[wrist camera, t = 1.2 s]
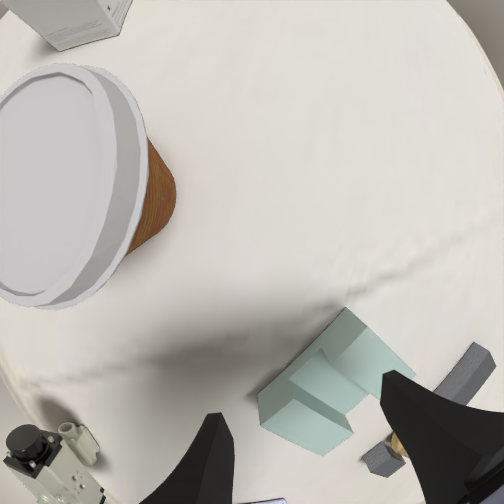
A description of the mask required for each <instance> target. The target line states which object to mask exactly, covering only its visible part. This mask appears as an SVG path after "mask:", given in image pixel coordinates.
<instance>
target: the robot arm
mask: <svg viewBox="0 0 504 504" xmlns="http://www.w3.org/2000/svg"><path fill="white" fill-rule="evenodd" d="M380 405H381V408H382V410H383V412H384V415H385V417H386V419H387V421H388V423H389V425H390V426H391V428H392V430H393V431H394V433H395V434H396V436H397V438H398V439H399V441H400V443H401V444H402V446H403V447H404V449H405V451H406V452H407V454H408V456H409V458H410V460H411V462H412V465H413V467H414V469H415V472H416V474H417V477H418V480H419V482H420V485H421V488H422V491H423V494H424V497H425V501H426V504H504V412H493V411H486V410H481V409H476V408H472V407H468V406H465V405H462V404H459V403H456V402H453V401H451V400H448V399H446V398H444V397H441V396H439V395H437V394H435V393H433V392H431V391H430V390H428V389H426V388H424V387H422V386H421V385H419V384H417V383H416V382H414V381H412V380H411V379H409V378H407V377H406V376H404V375H403V374H401V373H399V372H398V371H396V370H391V371H389V372H386V373H383V374H382V386H381V397H380ZM234 461H235V455H234V441H233V437H232V435H231V433H230V431H229V428H228V426H227V424H226V422H225V419H224V417H223V415H222V413H221V412H220V413H211V414H207V415H206V417H205V419H204V422H203V424H202V426H201V428H200V429H199V431H198V433H197V435H196V437H195V439H194V440H193V442H192V444H191V446H190V447H189V449H188V451H187V452H186V454H185V455H184V457H183V458H182V459H181V461H180V462H179V464H178V465H177V466H176V468H175V469H174V470H173V472H172V473H171V474H170V475H169V476H168V477H167V479H166V480H165V481H164V482H163V483H162V484H161V485H160V486H159V487H158V488H157V489H156V490H155V491H154V492H153V493H151V494H150V495H149V496H148V497H147V498H145V499H144V500H143V501H142V502H140V503H139V504H232V490H233V476H234ZM252 504H287V503H286V501H285V500H284V499H279V500H274V501H267V502H260V503H252Z"/></svg>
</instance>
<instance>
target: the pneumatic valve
mask: <svg viewBox="0 0 504 504" xmlns="http://www.w3.org/2000/svg"><path fill="white" fill-rule="evenodd" d="M58 433H59V434H57V433H52V432H48V431H44V430H40V429H39V428H38V427H36V426H35V425H31V424H27V425H22V426H19V427H17V428H16V429H14V430H13V431H12V432H11V433H10V434H9V435H8V437H7V439H6V445H7V447H8V449H9V450H10V451H8V452H7V457H6V458H5V459H4V460H3V462H4V463H5V464H6V465H7V466H8V468H9V469H10V470H11V471H12V472H13V473H14V475H15V476H16V477H17V478H18V479H19V480H20V481H21V482H22V483H23V484H24V485H25V486H26V488H27V489H28V490H30V492H31V493H32V494H33V495H34V496H35V497H36V498H37V499H38V500H37V503H38V504H103V503H104V501H105V499H106V497H105V496H104V495H103V492H104V489H103V488H102V487H101V485H100V484H99V483H98V482H97V481H96V480H95V479H94V478H93V477H92V475H91V474H90V473H89V472H88V471H87V470H86V467H85V466H91V465H93V464H94V463H95V462H96V460H97V458H96V455H95V454H96V452H99V449H100V447H99V446H98V444H97V443H96V442H95V440H94V439H93V437H92V436H91V434H90V433H89V431H88V430H87V428H86V427H84V426H82V425H80V427H76V426H75V424H74V423H71V422H66V423H63V424H62V425H60V426H59V428H58ZM83 465H85V466H83Z"/></svg>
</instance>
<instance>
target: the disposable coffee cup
mask: <svg viewBox="0 0 504 504" xmlns="http://www.w3.org/2000/svg"><path fill="white" fill-rule="evenodd" d="M175 203H176V187H175V182H174V178H173V176H172V174H171V172H170V170H169V169H168V168H167V166H166V165H165V163H164V162H163V160H162V159H161V157H160V156H159V154H158V152H157V151H156V149H155V148H154V147H153V145H152V143H151V142H150V140H149V139H148V137H147V134H146V129H145V125H144V120H143V117H142V114H141V112H140V109H139V107H138V104H137V102H136V99H135V98H134V96H133V95H132V94H131V92H130V91H129V89H128V88H127V87H126V85H125V84H124V83H122V82H121V81H120V80H119V79H118V78H117V77H116V76H114V75H113V74H111V73H109V72H108V71H106V70H104V69H102V68H97V67H93V66H88V65H76V64H68V63H54V64H50V65H46V66H43V67H39V68H37V69H35V70H34V71H32V72H30V73H28V74H26V75H25V76H23V77H22V78H20V79H19V80H18V81H17V82H15V83H14V84H13V85H12V86H10V87H9V88H8V89H7V90H6V91H5V93H4V94H3V95H2V96H1V97H0V297H2V298H3V299H5V300H6V301H8V302H9V303H12V304H16V305H20V306H24V307H35V308H37V309H47V310H61V309H64V308H68V307H72V306H75V305H77V304H79V303H80V302H82V301H84V300H86V299H87V298H89V297H91V296H92V295H93V294H94V293H95V292H97V291H98V290H99V289H100V288H101V287H102V286H103V285H104V284H105V283H106V282H107V280H108V279H109V278H110V277H111V276H112V274H113V273H114V272H115V271H116V269H117V268H118V266H119V264H120V263H121V261H122V259H123V258H124V257H125V256H126V255H128V254H129V253H130V252H132V251H133V250H135V249H136V248H137V247H139V246H140V245H141V244H143V243H144V242H145V241H147V240H148V239H149V238H151V237H153V236H154V235H155V234H157V233H158V232H159V231H160V230H161V229H163V228H164V226H165V225H166V224H167V223H168V221H169V219H170V217H171V215H172V213H173V211H174V207H175Z"/></svg>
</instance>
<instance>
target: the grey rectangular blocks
mask: <svg viewBox="0 0 504 504" xmlns="http://www.w3.org/2000/svg"><path fill="white" fill-rule="evenodd" d="M495 367H496V365H495V362H494V360H493V358H492V356H491V354H490V351H488V350H487V349H485V348H483V347H482V346H480V345H478V344H477V343H475V342H473V344H472V345H471V346H470V348H469V349H468V350H467V352H466V353H465V355H464V356H463V357H462V358H461V360H460V361H459V362H458V364H457V365H456V366H455V367H454V369H453V370H452V371H451V372H450V374H449V375H448V376H447V377H446V378H445V380H444V381H443V382H442V383H441V384H440V385H439V386H438V388H437V389H436V390H435V391H434V392H433V393H435V394H437V395H439V396H441V397H444V398H446V399H448V400H451V401H453V402H456V403H459V404H462V405H465V406H466V405H467V404H468V403H469V401H470V400H471V399H472V398H473V397H474V395H475V394H476V393H477V392H478V390H479V389H480V388H481V387H482V385H483V384H484V383H485V381H486V380H487V379H488V377H489V376H490V375H491V373H492V372H493V370H494V369H495ZM363 458H364V460H365V462H366V464H367V466H368V469H369V471H370V473H373V474H377V475H380V476H383V477H386V478H388V477H389V476H390V475H392V474H393V473H394V472H396V471H397V470H398V469H400V468H401V467H402V466H403V465H405V464H406V462H405V461H404V459H403V458H402V456H401V454H399V453H397V452H395V451H394V450H393V448H392V446H390V445H388V444H386V443H384V442H380V443H379V444H378V445H377V446H375V447H374V448H373V449H372V450H370V451H369V452H368V453H366V454H365V455H364V456H363Z"/></svg>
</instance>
